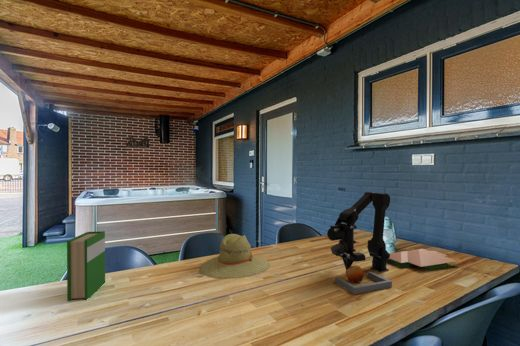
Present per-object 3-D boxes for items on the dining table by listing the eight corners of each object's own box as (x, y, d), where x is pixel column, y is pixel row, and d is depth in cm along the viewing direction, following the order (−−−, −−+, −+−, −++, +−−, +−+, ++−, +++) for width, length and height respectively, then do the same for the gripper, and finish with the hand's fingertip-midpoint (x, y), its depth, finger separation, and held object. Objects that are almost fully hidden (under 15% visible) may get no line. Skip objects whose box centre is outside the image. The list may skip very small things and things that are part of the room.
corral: (369, 276, 137) (369, 271, 137) (391, 286, 124) (391, 281, 124) (334, 282, 130) (334, 277, 130) (354, 294, 117) (354, 288, 117)
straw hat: (281, 260, 165) (280, 230, 165) (250, 285, 128) (250, 247, 128) (225, 253, 180) (225, 226, 180) (183, 273, 144) (183, 240, 144)
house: (461, 266, 151) (461, 251, 151) (414, 274, 141) (414, 257, 141) (424, 255, 173) (424, 241, 173) (380, 260, 163) (380, 246, 163)
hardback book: (87, 300, 113) (87, 240, 113) (67, 301, 112) (66, 240, 112) (105, 283, 131) (104, 231, 131) (87, 284, 130) (87, 231, 130)
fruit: (369, 281, 127) (359, 265, 127) (353, 289, 128) (344, 273, 129) (366, 275, 134) (357, 260, 135) (351, 282, 136) (342, 268, 137)
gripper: (322, 235, 142) (322, 266, 143) (346, 244, 125) (346, 279, 125) (340, 233, 146) (340, 263, 147) (366, 242, 129) (366, 276, 129)
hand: (347, 270), depth 137 cm, fingers closed
